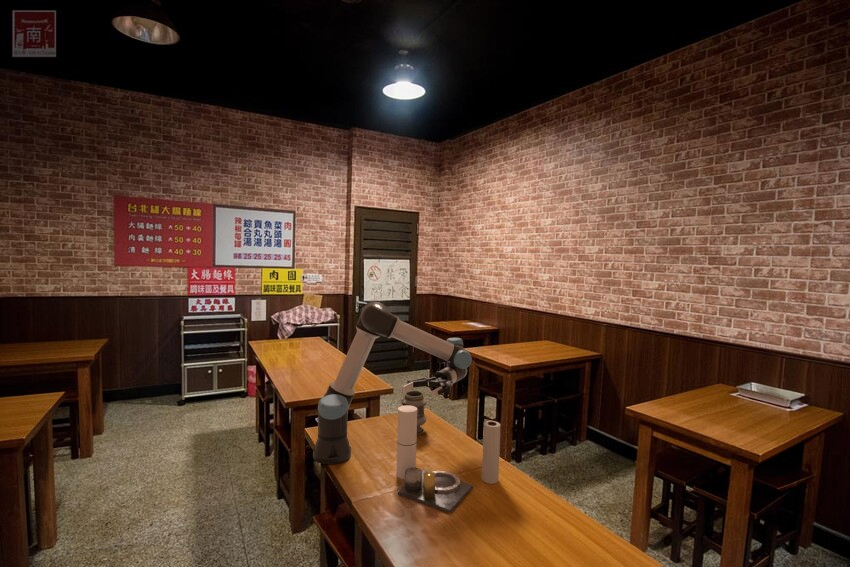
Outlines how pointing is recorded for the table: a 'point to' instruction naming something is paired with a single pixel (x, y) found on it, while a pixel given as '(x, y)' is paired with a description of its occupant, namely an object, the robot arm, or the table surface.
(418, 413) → the apothecary jar
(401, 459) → the cylindrical container
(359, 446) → the table surface
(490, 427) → the paper towel roll
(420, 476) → the carrier
